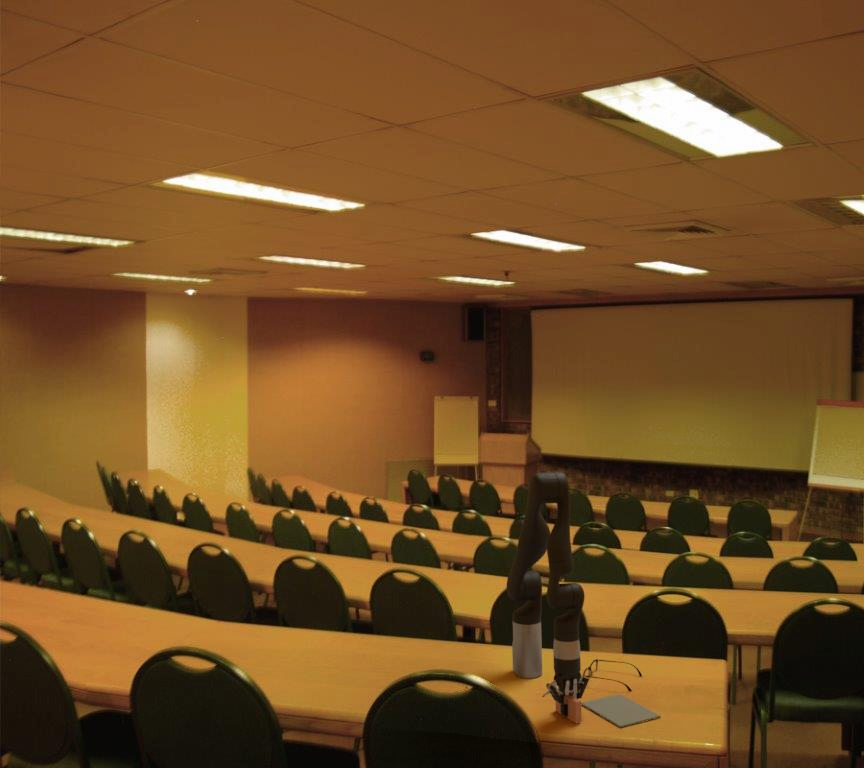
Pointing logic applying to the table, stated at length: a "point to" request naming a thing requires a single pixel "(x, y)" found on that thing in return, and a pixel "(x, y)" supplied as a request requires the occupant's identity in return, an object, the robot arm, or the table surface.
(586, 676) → the eyeglasses
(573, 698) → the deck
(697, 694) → the table surface
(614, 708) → the mat
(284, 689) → the table surface
